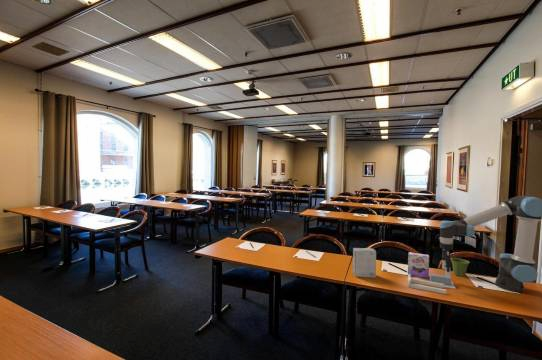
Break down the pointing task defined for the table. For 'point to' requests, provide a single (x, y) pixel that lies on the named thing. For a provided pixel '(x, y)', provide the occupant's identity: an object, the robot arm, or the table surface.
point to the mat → (450, 286)
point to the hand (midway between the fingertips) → (446, 272)
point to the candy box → (418, 265)
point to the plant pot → (459, 266)
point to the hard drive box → (364, 262)
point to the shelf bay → (426, 286)
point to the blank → (440, 279)
